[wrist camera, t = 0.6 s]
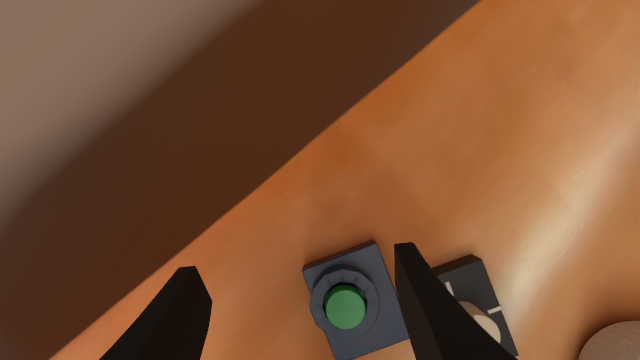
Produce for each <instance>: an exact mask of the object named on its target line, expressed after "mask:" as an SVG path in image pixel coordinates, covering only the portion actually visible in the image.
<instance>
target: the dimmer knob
mask: <svg viewBox="0 0 640 360" xmlns="http://www.w3.org/2000/svg"><path fill="white" fill-rule="evenodd" d="M459 303H460V304H461V305H462V306H463V308H464V309H465V310H466V311H467V312H468V313H469V314H470V315H471V316H472V317H473V318H474V319H475V320H476V321H477V322H478V323H479V324H480V325H481V326H482V327H483V328H484V329H485V330H486V331H487V332H488V333H489V334H490V335H491V336H492V337H493V338H494V339H495V340H496V341H497V342H498V343H500V339H501V338H500V332H499V329H498V327H497V325H496V324H495V323H494V322H493V321H492V320H491V319H490V318H489V317H488V316H486V315H485V314H484V313H483V312H482V311H480V310H479V309H478V308H477V307H476V306H474V305H473V304H471V303H469V302H465V301H459Z"/></svg>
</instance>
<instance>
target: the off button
mask: <svg viewBox="0 0 640 360" xmlns="http://www.w3.org/2000/svg"><path fill="white" fill-rule="evenodd" d="M365 311H366V309H365V303H364V300H363V297H362V295H361V293H360V292H359V291H358V290H357V289H356V288H355V287H353V286H350V285H339V286H337V287H335V288H333V289H332V290H331V291H330V292H329V294H328V296H327V299H326V315H327V317H328V319H329V321H330V322H331V323H332V324H333V325H334V326H335V327H337V328H340V329H352V328H354V327H356V326H358V325H359V324H360V323H361V322H362V320H363V319H364V316H365Z"/></svg>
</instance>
